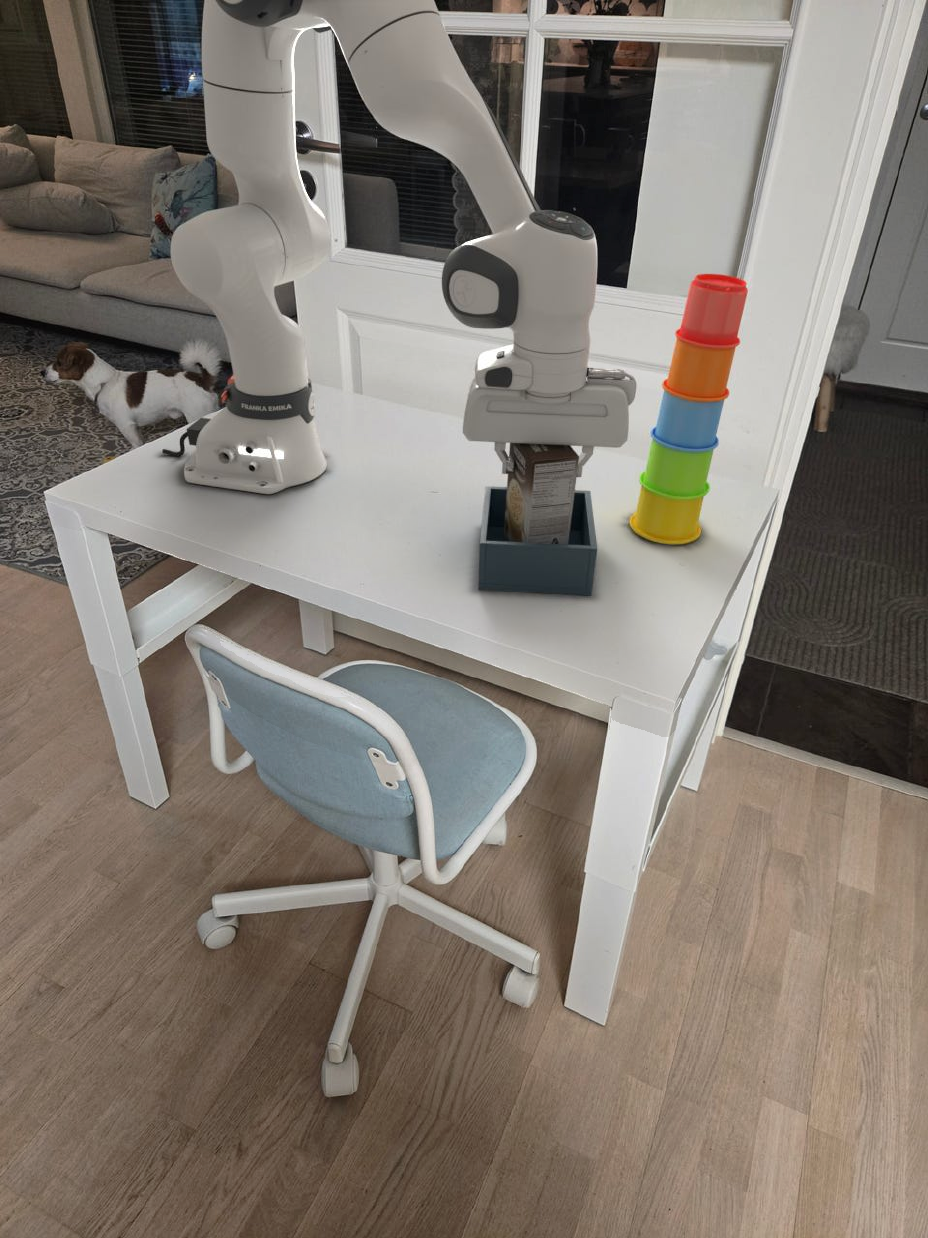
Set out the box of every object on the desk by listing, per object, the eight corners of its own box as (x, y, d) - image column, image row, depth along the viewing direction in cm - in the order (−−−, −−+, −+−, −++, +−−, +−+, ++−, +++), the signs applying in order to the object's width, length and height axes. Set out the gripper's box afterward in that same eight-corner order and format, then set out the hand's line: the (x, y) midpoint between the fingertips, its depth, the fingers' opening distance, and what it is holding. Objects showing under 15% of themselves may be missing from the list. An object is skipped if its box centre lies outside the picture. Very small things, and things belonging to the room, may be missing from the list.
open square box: (478, 589, 106) (479, 543, 102) (484, 529, 118) (485, 485, 114) (591, 595, 105) (597, 549, 101) (585, 534, 118) (590, 490, 114)
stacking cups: (628, 508, 124) (666, 267, 104) (697, 515, 123) (749, 271, 102) (629, 543, 116) (670, 288, 95) (703, 550, 115) (760, 293, 94)
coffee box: (501, 538, 114) (508, 429, 104) (544, 532, 115) (555, 425, 106) (522, 573, 107) (531, 460, 97) (568, 567, 108) (581, 455, 99)
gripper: (636, 360, 98) (620, 466, 106) (466, 354, 99) (464, 459, 107) (641, 379, 93) (625, 488, 101) (462, 372, 94) (460, 481, 102)
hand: (541, 473), depth 104 cm, fingers closed on coffee box, 7 cm apart
